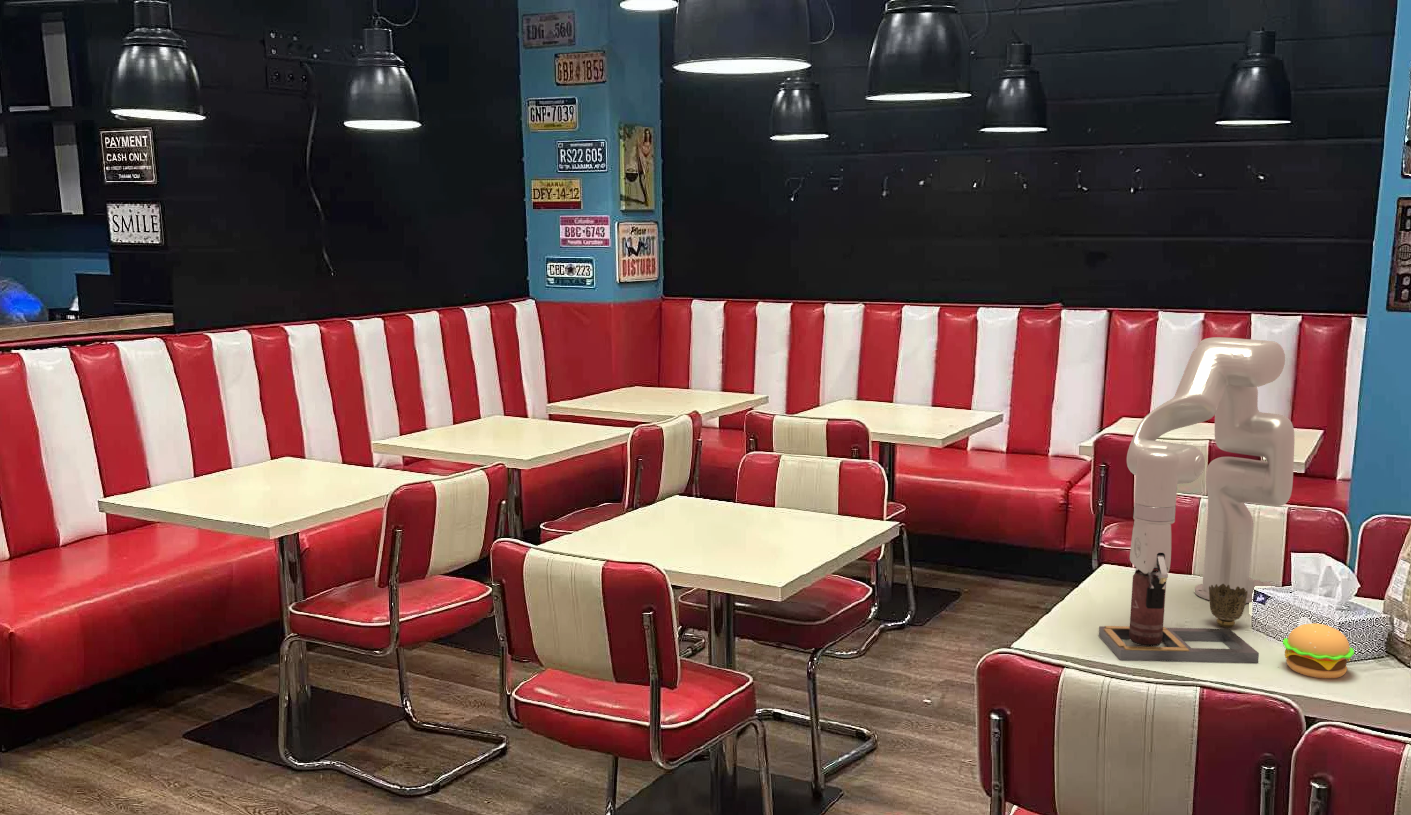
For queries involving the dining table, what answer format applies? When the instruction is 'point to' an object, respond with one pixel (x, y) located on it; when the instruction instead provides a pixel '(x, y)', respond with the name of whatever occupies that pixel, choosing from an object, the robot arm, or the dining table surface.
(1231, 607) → the cup
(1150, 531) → the robot arm
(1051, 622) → the dining table surface
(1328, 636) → the hamburger
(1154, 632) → the can
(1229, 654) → the grey tray
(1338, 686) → the dining table surface
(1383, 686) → the dining table surface
